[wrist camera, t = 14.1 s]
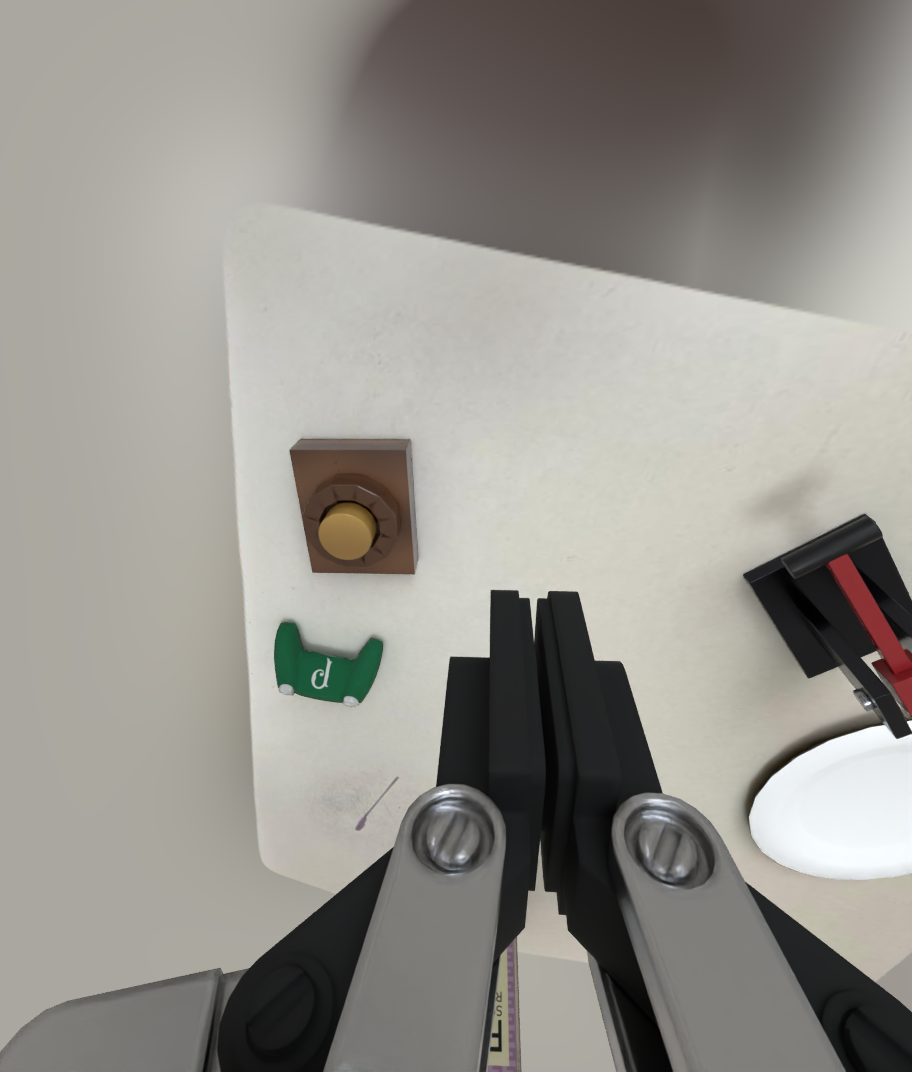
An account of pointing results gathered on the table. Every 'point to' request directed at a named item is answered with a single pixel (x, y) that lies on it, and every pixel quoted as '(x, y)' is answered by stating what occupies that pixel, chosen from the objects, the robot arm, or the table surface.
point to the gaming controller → (323, 670)
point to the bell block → (359, 499)
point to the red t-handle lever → (859, 600)
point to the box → (506, 1016)
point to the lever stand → (838, 621)
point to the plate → (840, 808)
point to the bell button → (347, 531)
